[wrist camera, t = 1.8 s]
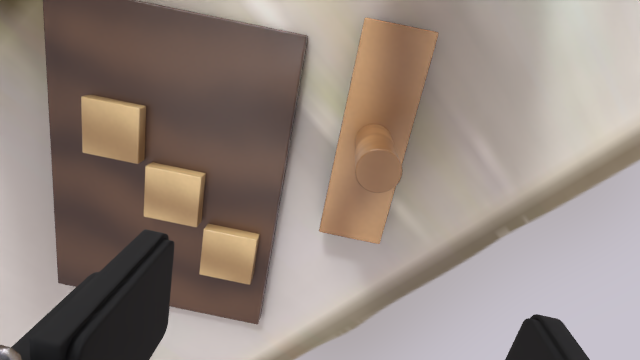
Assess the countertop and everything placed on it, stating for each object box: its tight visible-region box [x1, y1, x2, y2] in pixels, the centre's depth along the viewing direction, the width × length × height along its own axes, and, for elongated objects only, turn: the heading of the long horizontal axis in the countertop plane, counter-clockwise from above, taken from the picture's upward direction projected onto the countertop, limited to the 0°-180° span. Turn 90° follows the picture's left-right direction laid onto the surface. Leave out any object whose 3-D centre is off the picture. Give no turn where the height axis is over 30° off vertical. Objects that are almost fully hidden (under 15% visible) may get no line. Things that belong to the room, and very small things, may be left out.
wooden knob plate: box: [319, 18, 438, 244], centre depth 24 cm, size 4×14×8 cm, turn 169°
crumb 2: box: [144, 162, 206, 227], centre depth 29 cm, size 4×4×1 cm
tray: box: [43, 0, 308, 324], centre depth 30 cm, size 23×17×1 cm
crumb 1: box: [81, 95, 146, 164], centre depth 28 cm, size 4×4×1 cm
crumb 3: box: [199, 224, 260, 285], centre depth 31 cm, size 4×4×1 cm
